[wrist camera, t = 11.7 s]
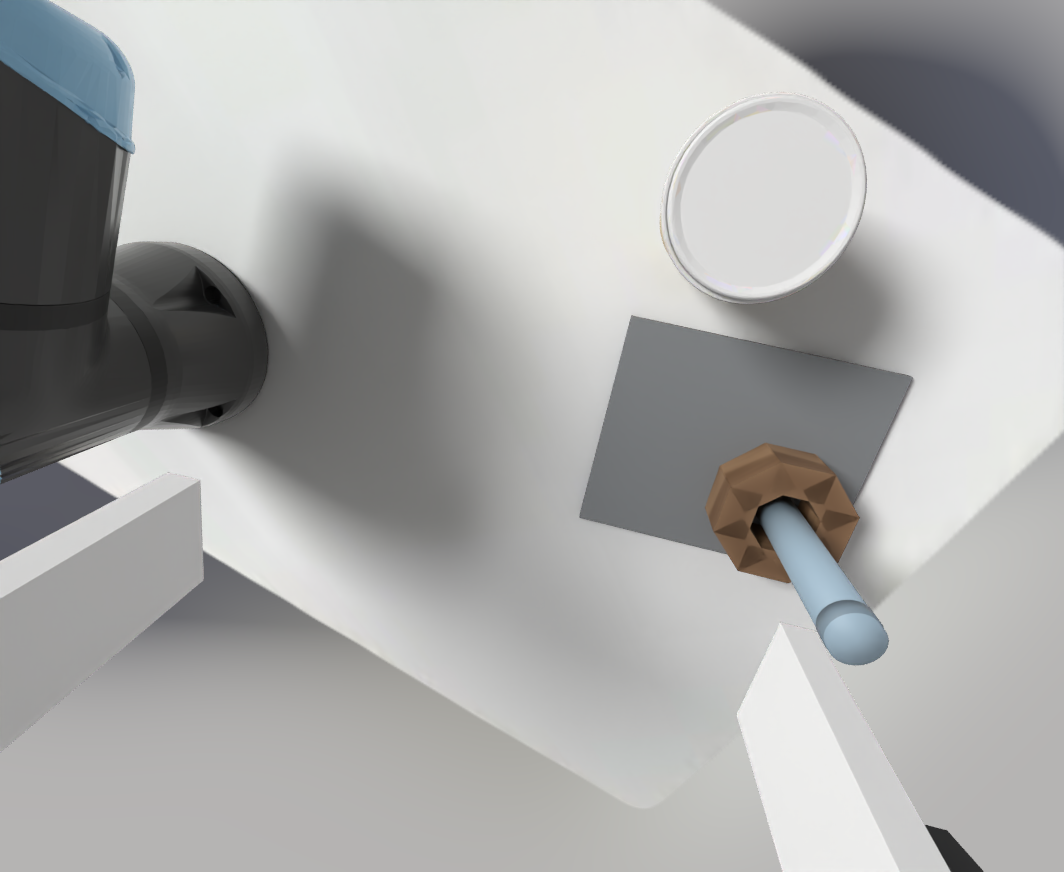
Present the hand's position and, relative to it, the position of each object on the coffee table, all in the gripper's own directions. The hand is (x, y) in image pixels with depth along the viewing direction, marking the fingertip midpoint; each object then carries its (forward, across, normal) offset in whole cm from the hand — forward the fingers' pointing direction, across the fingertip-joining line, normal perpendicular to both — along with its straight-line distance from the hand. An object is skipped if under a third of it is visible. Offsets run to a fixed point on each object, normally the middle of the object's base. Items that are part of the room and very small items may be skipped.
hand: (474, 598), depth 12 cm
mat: (+30, +14, -5) cm, 34 cm away
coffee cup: (+30, +8, +11) cm, 33 cm away
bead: (+29, +18, -8) cm, 35 cm away
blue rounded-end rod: (+29, +18, -8) cm, 35 cm away
